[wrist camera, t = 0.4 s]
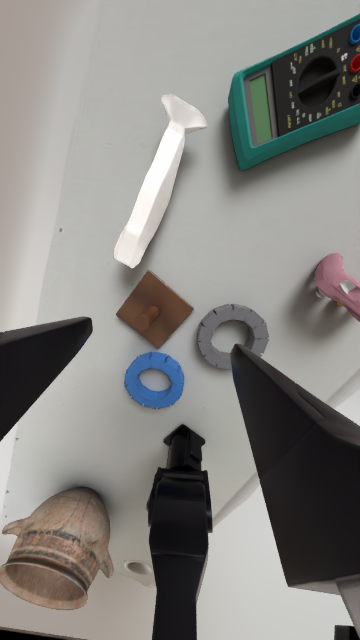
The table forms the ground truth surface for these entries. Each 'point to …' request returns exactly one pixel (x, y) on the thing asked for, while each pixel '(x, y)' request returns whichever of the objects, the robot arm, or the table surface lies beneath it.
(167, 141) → the toy fish
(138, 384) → the blue ring
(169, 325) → the peg stand
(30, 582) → the cooking pot
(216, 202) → the table surface
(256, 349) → the grey ring
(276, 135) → the digital multimeter
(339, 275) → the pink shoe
